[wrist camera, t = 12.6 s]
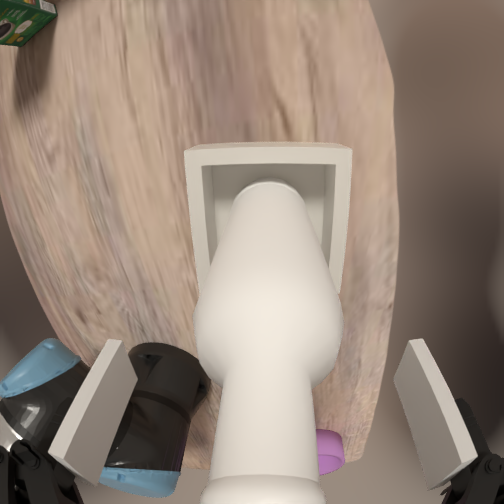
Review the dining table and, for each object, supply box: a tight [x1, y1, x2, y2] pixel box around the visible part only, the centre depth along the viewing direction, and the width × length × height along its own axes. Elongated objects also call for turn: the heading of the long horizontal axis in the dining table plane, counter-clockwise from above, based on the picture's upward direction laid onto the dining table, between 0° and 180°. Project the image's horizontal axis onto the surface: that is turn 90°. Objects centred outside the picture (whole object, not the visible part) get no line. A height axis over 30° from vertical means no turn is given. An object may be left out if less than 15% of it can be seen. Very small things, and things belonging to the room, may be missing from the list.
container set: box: [316, 429, 345, 475], centre depth 51 cm, size 25×15×13 cm, turn 97°
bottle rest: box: [184, 142, 352, 294], centre depth 30 cm, size 15×15×6 cm
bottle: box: [193, 177, 344, 504], centre depth 19 cm, size 8×8×30 cm
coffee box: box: [0, 0, 57, 47], centre depth 16 cm, size 8×3×13 cm, turn 109°
